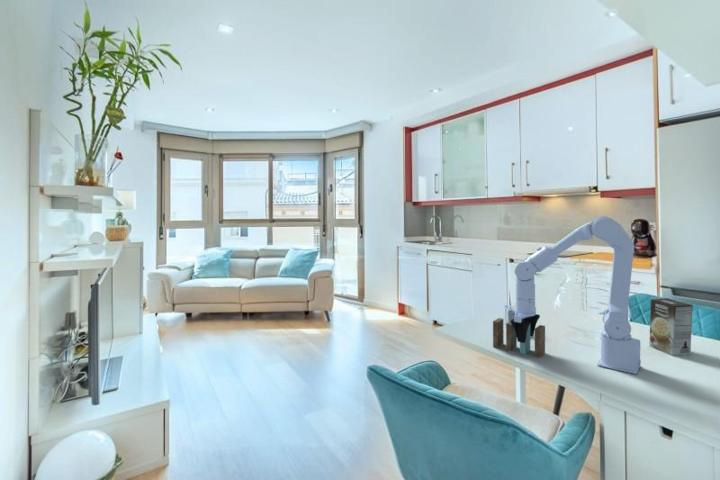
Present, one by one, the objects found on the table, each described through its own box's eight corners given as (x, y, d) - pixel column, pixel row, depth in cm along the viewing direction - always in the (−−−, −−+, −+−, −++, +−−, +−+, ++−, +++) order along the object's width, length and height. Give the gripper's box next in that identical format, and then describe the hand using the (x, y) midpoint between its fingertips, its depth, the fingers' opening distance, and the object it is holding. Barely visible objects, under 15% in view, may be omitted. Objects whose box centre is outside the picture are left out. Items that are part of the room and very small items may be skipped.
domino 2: (530, 349, 123) (530, 323, 123) (525, 354, 120) (525, 327, 119) (525, 348, 124) (525, 322, 124) (519, 353, 121) (520, 326, 120)
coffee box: (647, 346, 124) (649, 298, 123) (665, 345, 124) (667, 297, 123) (672, 356, 115) (674, 305, 114) (692, 355, 115) (694, 304, 114)
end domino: (503, 344, 129) (503, 318, 129) (497, 348, 126) (497, 322, 125) (498, 343, 130) (498, 317, 130) (493, 347, 127) (493, 321, 126)
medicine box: (520, 332, 141) (520, 310, 141) (508, 332, 142) (508, 309, 141) (516, 326, 149) (516, 304, 148) (504, 325, 150) (504, 304, 149)
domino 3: (544, 353, 120) (545, 325, 120) (539, 357, 117) (540, 329, 116) (539, 351, 121) (539, 325, 121) (534, 356, 118) (534, 328, 117)
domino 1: (516, 346, 126) (516, 321, 126) (511, 351, 123) (511, 324, 122) (511, 345, 127) (511, 320, 127) (506, 350, 124) (506, 323, 123)
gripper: (520, 292, 129) (520, 330, 130) (504, 300, 118) (504, 342, 119) (542, 295, 124) (542, 334, 125) (527, 303, 113) (527, 347, 114)
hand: (525, 338), depth 122 cm, fingers open, 7 cm apart
